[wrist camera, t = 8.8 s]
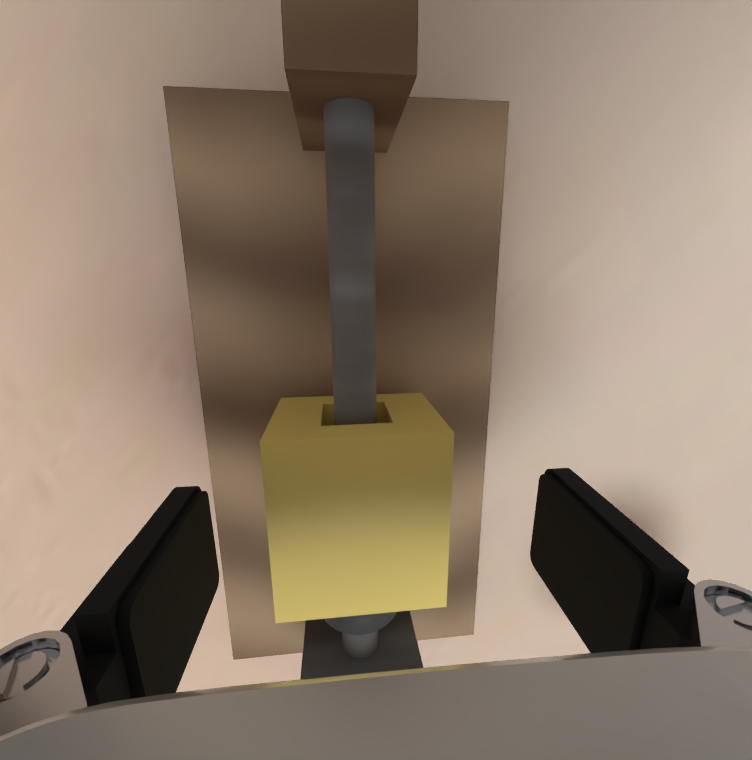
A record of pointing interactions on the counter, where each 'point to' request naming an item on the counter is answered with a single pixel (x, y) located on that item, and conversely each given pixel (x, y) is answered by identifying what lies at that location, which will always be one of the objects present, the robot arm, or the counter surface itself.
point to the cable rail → (339, 291)
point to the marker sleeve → (357, 508)
